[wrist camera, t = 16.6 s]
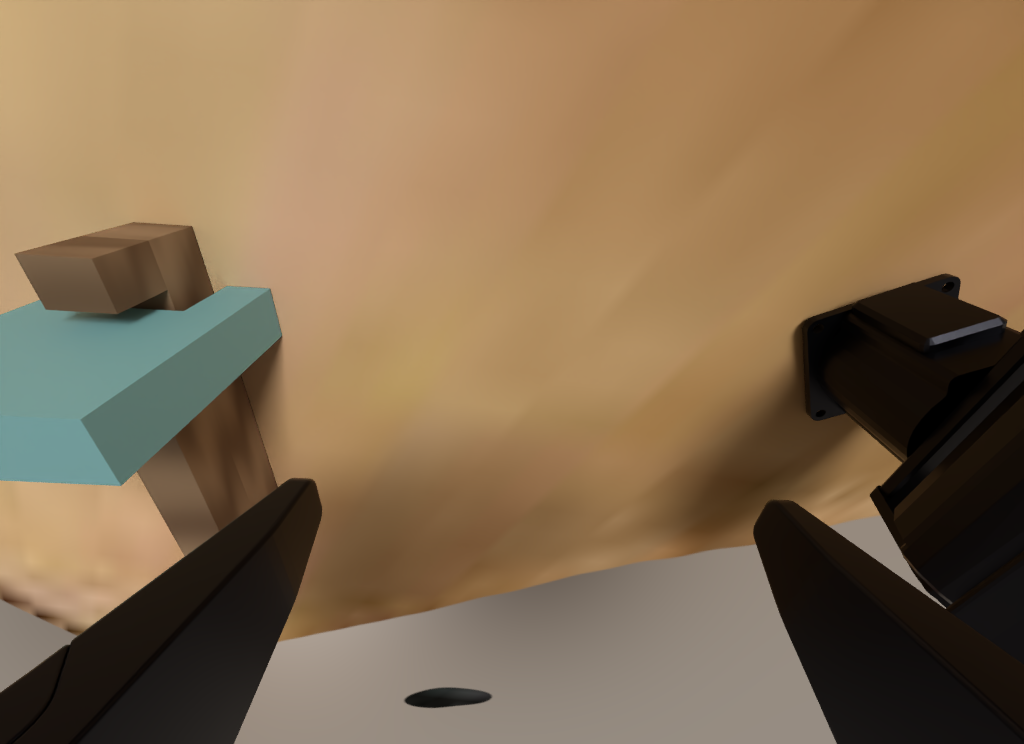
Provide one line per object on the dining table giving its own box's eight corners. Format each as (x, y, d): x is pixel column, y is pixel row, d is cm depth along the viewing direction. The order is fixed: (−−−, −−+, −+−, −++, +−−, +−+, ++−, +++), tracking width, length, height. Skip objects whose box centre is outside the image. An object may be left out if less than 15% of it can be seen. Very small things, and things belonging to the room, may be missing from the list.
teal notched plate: (269, 288, 19) (80, 419, 11) (282, 335, 21) (121, 485, 12) (96, 278, 19) (-236, 404, 11) (120, 326, 21) (-159, 473, 12)
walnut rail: (133, 222, 18) (14, 253, 14) (191, 226, 18) (91, 258, 14) (253, 524, 28) (207, 596, 24) (290, 526, 28) (250, 597, 24)
